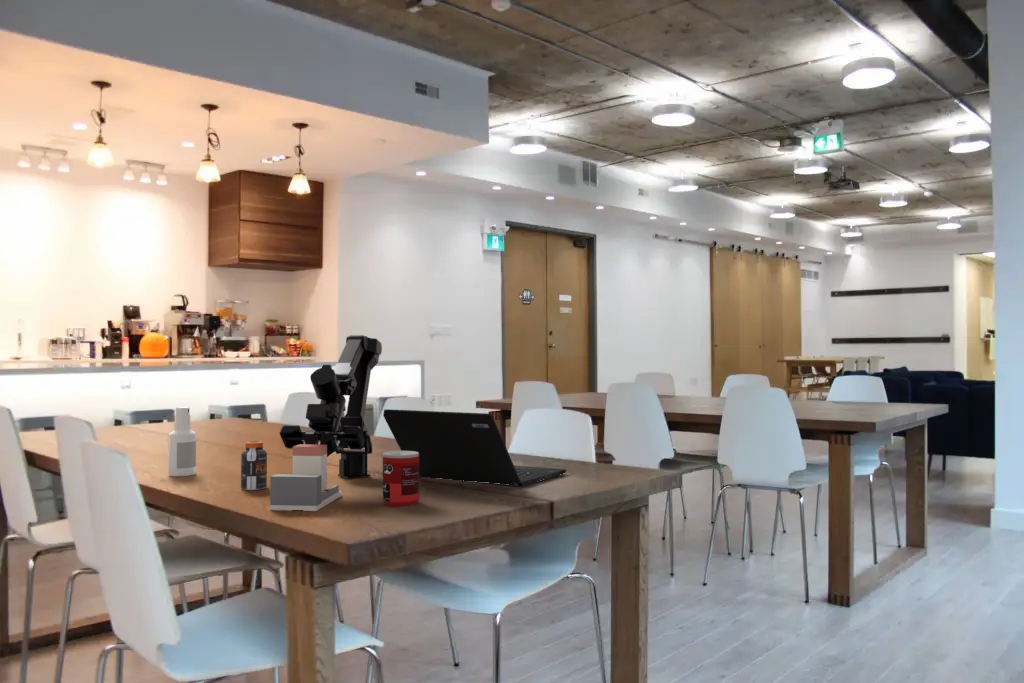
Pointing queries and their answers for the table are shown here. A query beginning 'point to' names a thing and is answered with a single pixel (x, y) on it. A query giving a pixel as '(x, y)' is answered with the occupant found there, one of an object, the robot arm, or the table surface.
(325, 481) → the cream and pink block
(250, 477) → the pill bottle
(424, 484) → the table surface
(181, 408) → the spray bottle
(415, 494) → the canned food
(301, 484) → the grey and white holder
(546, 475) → the laptop
